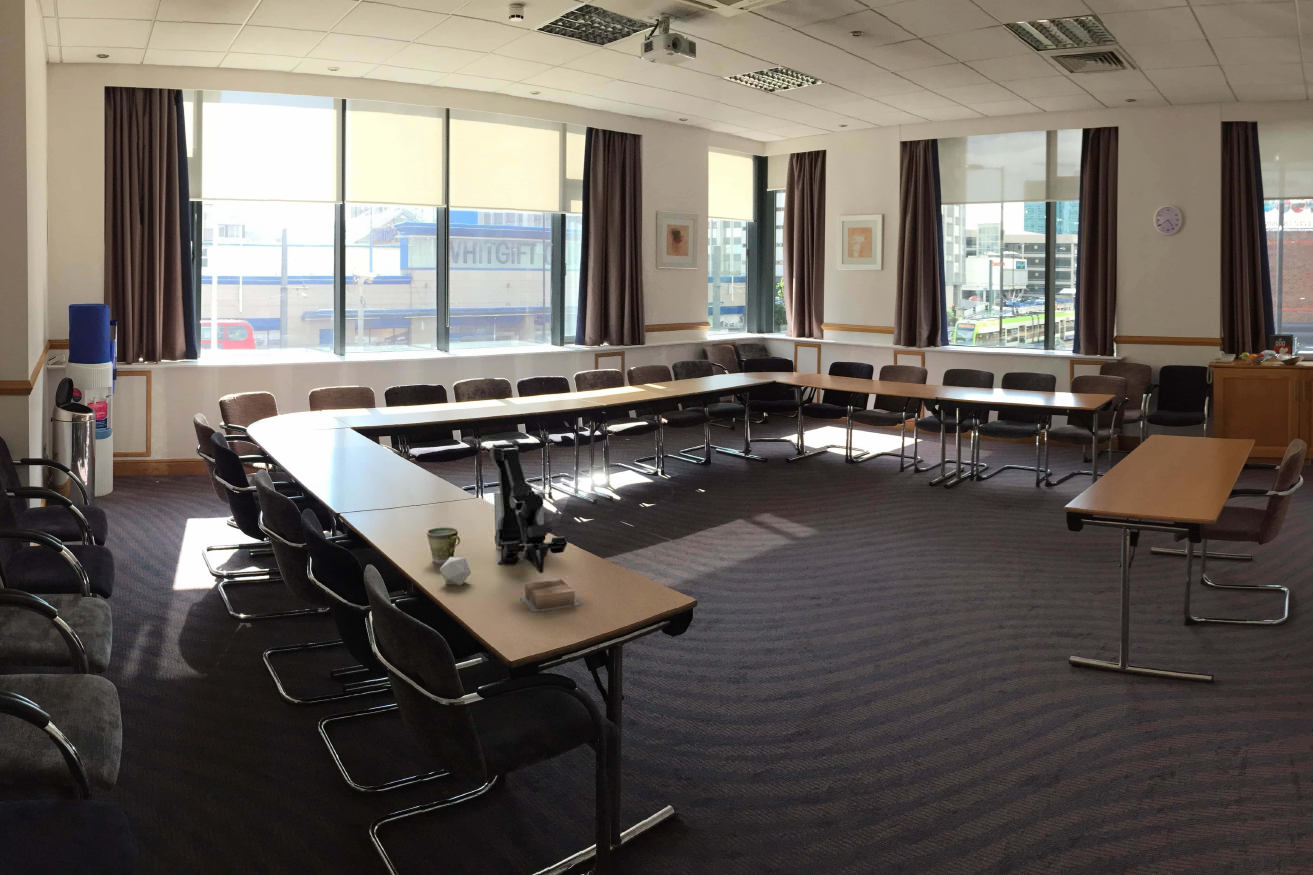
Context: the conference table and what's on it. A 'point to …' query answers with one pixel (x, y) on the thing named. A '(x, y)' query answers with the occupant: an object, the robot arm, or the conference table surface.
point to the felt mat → (546, 608)
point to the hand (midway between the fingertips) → (541, 572)
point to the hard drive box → (499, 512)
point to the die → (455, 571)
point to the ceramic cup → (442, 543)
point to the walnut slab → (549, 594)
